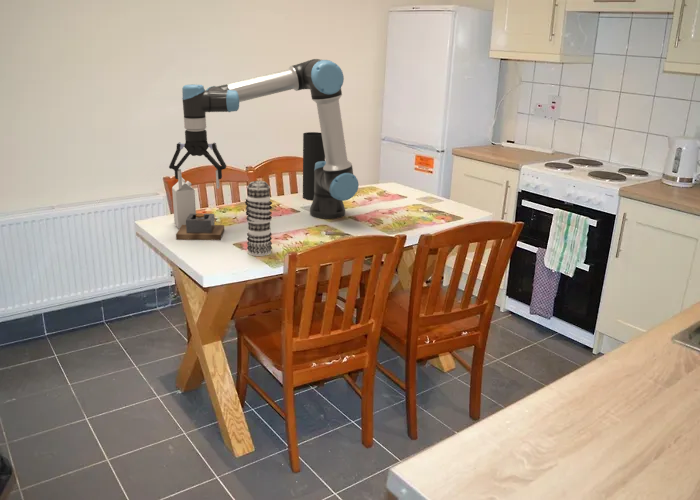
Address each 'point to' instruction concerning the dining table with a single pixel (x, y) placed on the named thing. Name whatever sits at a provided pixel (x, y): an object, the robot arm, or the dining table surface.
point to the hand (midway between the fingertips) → (199, 187)
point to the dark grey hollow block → (200, 224)
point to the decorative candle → (258, 218)
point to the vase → (311, 161)
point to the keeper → (214, 235)
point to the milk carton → (183, 202)
